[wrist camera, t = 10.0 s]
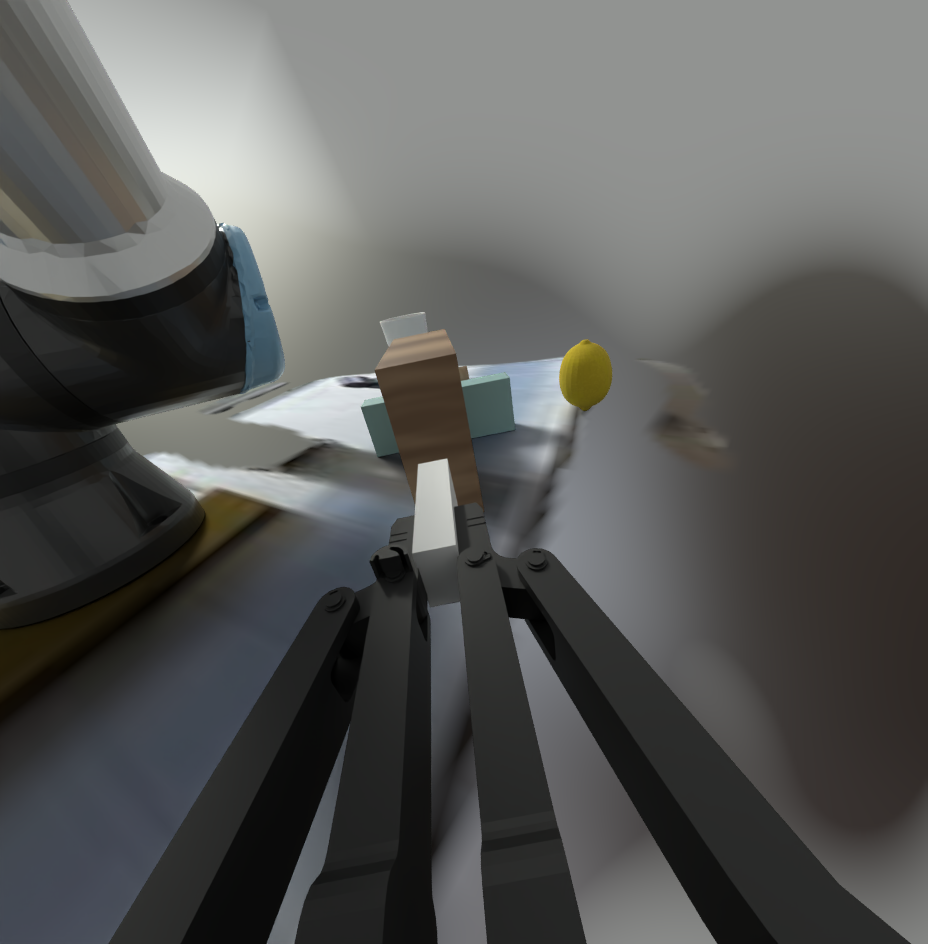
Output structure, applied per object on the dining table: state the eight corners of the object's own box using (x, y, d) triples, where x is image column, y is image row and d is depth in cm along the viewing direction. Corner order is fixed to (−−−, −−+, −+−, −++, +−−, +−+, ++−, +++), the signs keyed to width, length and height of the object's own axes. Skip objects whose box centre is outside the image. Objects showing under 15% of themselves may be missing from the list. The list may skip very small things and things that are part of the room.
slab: (484, 512, 26) (455, 353, 20) (421, 525, 26) (374, 369, 20) (465, 441, 39) (444, 328, 33) (422, 449, 38) (393, 339, 33)
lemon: (557, 420, 39) (553, 348, 35) (564, 403, 43) (562, 337, 39) (609, 419, 37) (612, 342, 33) (611, 401, 41) (614, 331, 37)
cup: (447, 378, 65) (434, 310, 59) (418, 392, 60) (400, 319, 54) (419, 378, 70) (404, 314, 64) (390, 390, 65) (370, 323, 59)
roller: (469, 386, 61) (466, 372, 62) (468, 376, 58) (465, 362, 59) (415, 397, 61) (412, 383, 62) (411, 388, 58) (409, 373, 59)
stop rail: (515, 429, 39) (509, 377, 36) (377, 456, 39) (360, 406, 36) (510, 422, 41) (505, 372, 38) (380, 447, 41) (364, 400, 38)
